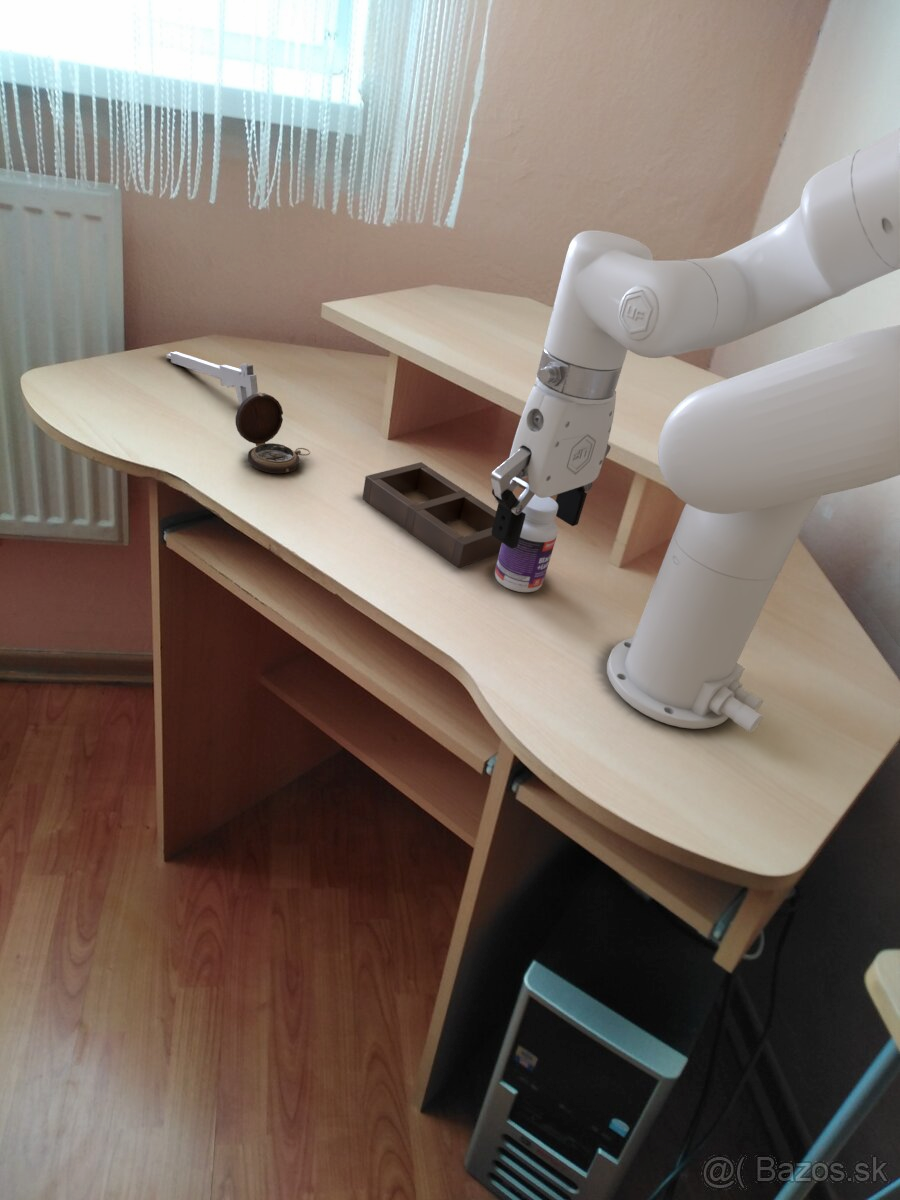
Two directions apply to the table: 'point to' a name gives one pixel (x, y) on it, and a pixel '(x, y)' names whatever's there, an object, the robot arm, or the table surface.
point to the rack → (434, 512)
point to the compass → (265, 434)
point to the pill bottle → (530, 548)
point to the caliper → (221, 373)
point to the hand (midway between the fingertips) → (535, 530)
